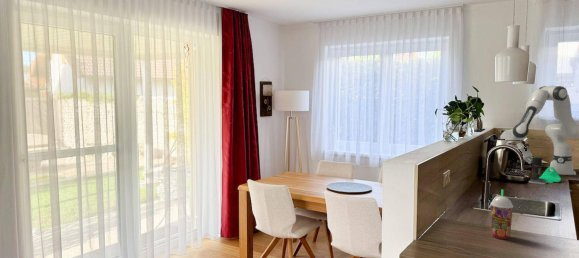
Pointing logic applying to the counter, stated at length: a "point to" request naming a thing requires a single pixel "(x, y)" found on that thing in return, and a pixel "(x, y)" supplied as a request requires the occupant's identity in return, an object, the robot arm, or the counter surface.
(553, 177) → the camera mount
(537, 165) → the deodorant
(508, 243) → the counter surface
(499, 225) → the smoothie
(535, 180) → the mount plate
